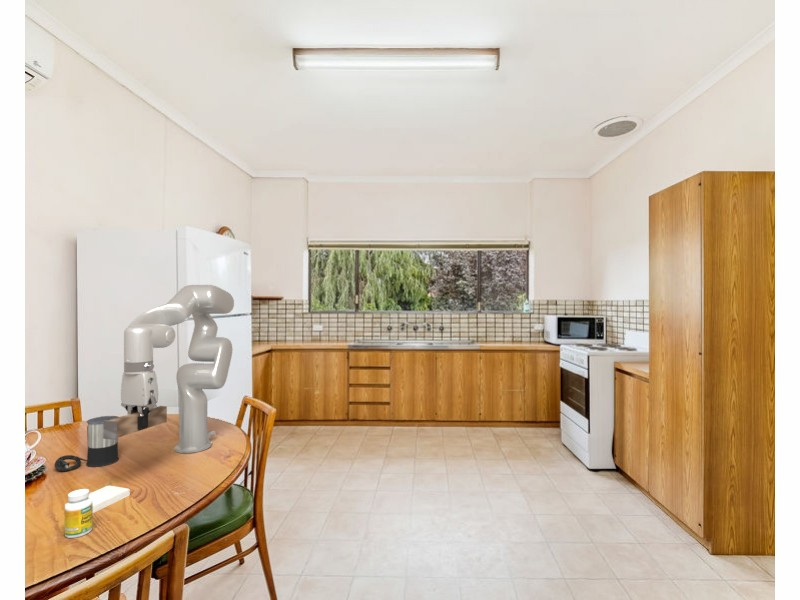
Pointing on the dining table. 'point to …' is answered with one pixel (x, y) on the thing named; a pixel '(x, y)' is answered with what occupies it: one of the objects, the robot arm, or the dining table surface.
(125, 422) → the bar
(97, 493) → the tile
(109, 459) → the milk frother
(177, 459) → the dining table surface
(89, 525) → the supplement bottle
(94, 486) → the dining table surface
